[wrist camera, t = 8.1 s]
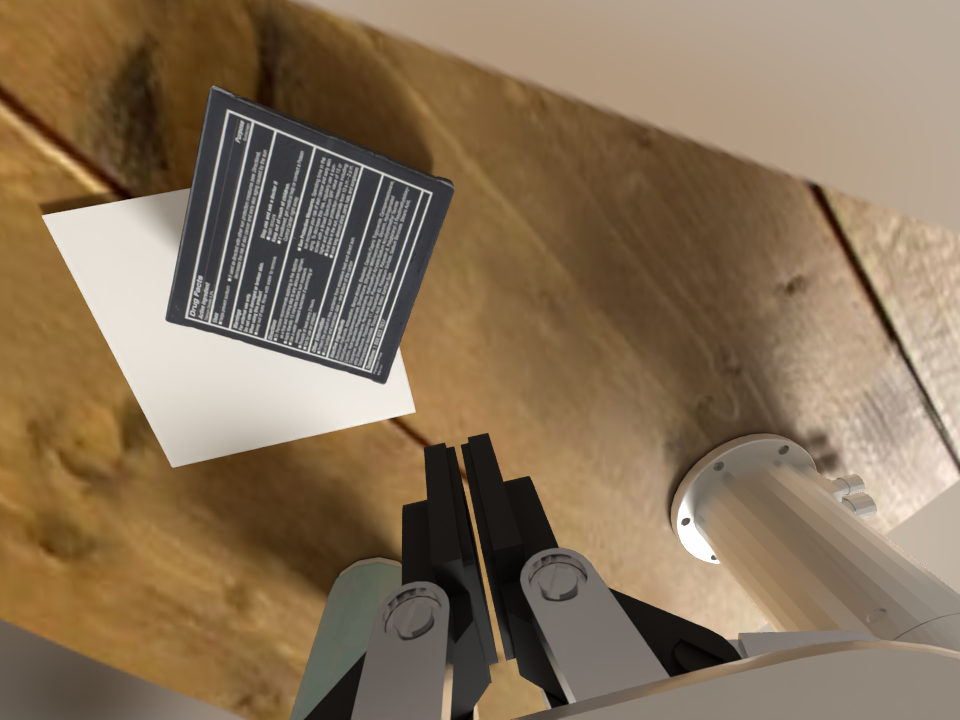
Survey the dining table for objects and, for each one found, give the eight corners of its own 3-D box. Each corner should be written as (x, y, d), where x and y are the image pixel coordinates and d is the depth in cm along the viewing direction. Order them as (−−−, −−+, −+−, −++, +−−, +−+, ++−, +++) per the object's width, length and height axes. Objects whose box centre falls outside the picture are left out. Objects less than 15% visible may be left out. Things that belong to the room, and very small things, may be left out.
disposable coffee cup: (412, 515, 36) (422, 729, 23) (461, 607, 41) (495, 833, 27) (280, 568, 36) (210, 814, 23) (344, 654, 41) (318, 905, 27)
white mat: (351, 158, 27) (350, 158, 26) (415, 408, 33) (415, 412, 33) (47, 214, 25) (41, 215, 25) (175, 463, 32) (172, 467, 31)
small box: (446, 179, 27) (253, 97, 25) (460, 184, 22) (207, 75, 19) (387, 345, 31) (209, 289, 28) (385, 389, 25) (157, 324, 22)
